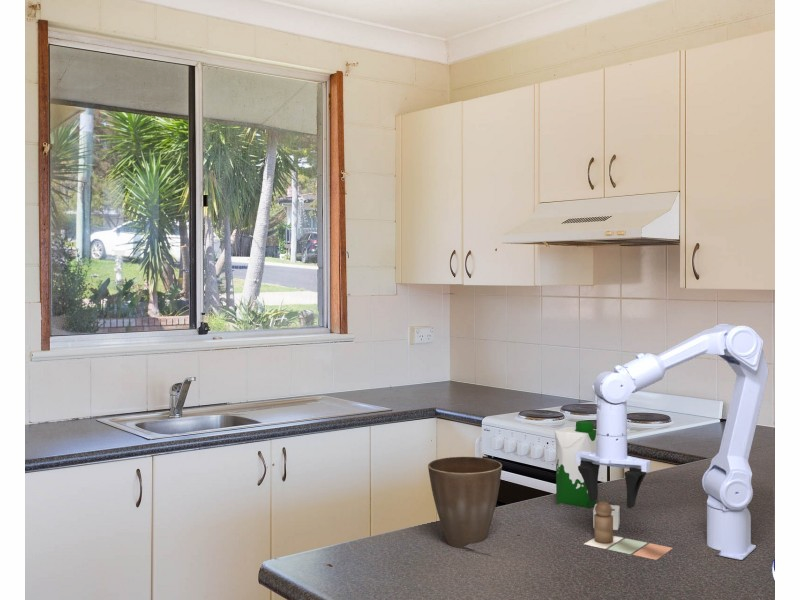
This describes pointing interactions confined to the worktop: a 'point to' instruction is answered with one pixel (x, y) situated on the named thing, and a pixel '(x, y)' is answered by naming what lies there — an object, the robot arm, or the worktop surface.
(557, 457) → the milk carton
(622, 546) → the board
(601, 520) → the pawn
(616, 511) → the die
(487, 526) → the plant pot
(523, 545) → the worktop surface
